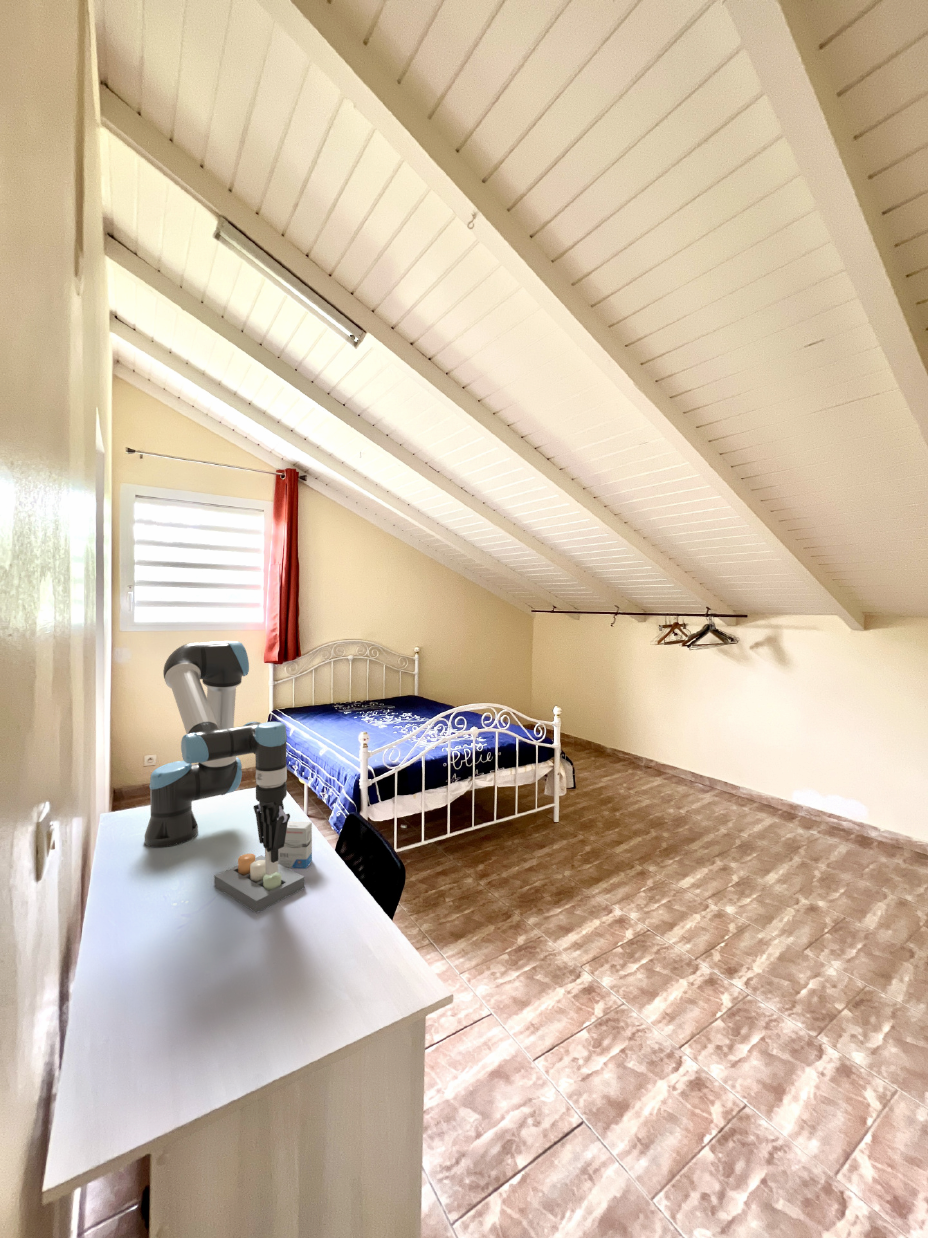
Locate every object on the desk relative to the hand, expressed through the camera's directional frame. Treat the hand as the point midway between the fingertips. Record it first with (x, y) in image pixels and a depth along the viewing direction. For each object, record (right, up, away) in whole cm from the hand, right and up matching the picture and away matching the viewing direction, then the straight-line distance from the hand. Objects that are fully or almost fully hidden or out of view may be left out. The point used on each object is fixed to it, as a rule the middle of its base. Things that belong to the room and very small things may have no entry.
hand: (271, 872), depth 136 cm
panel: (-5, -6, +4) cm, 8 cm away
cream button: (-5, -3, +4) cm, 7 cm away
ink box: (+1, -6, +16) cm, 17 cm away
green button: (0, -5, 0) cm, 5 cm away
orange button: (-9, -3, +7) cm, 12 cm away
